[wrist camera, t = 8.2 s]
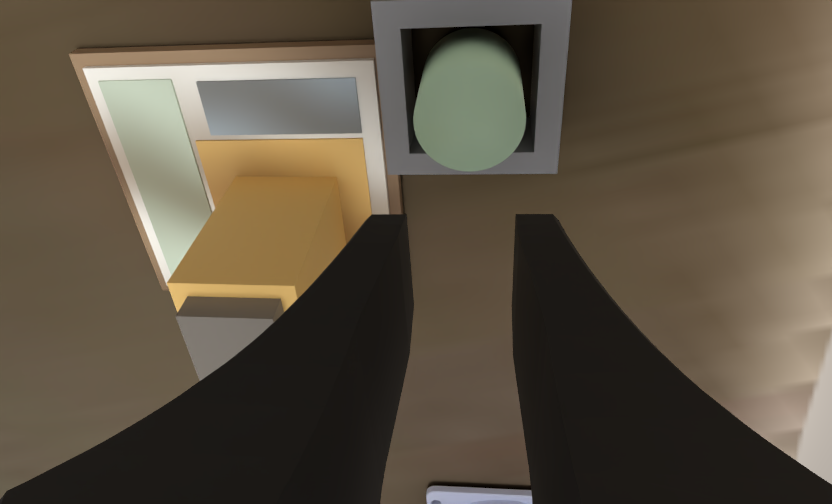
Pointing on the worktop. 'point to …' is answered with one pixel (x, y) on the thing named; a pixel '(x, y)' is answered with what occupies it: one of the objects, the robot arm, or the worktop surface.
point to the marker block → (254, 262)
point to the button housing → (461, 7)
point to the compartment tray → (236, 128)
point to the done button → (470, 101)
